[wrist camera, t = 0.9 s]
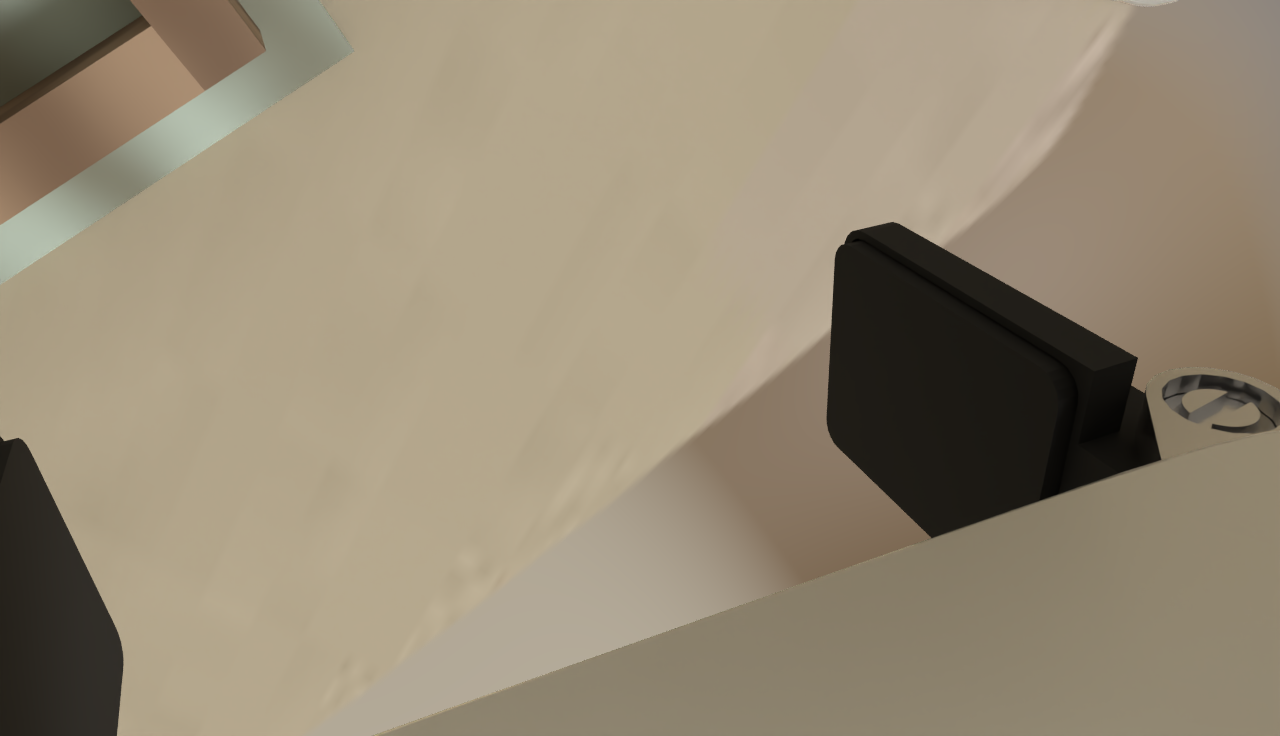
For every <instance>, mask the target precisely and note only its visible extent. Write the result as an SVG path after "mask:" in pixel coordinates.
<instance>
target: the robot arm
mask: <svg viewBox="0 0 1280 736" xmlns="http://www.w3.org/2000/svg"><path fill="white" fill-rule="evenodd" d="M1112 1H1118V2H1122V3H1126V4H1131V5H1135V6H1148V7H1152V6H1159V5H1163V4H1167V3H1173V2H1177V1H1178V0H1112ZM1137 359H1138V358H1137V357H1135V356H1133V355H1132V354H1130V353H1128V352H1126V351H1125V350H1123V349H1121V348H1119V347H1117V346H1116V345H1114V344H1112V343H1110V342H1109V341H1107V340H1105V339H1103V338H1101V337H1099V336H1098V335H1096V334H1094V333H1093V332H1091V331H1089V330H1087V329H1085V328H1084V327H1082V326H1080V325H1078V324H1076V323H1075V322H1073V321H1071V320H1069V319H1067V318H1066V317H1064V316H1062V315H1060V314H1058V313H1056V312H1055V311H1053V310H1052V309H1050V308H1048V307H1046V306H1044V305H1042V304H1041V303H1039V302H1037V301H1035V300H1034V299H1032V298H1030V297H1028V296H1027V295H1025V294H1023V293H1021V292H1019V291H1018V290H1016V289H1014V288H1012V287H1011V286H1009V285H1006V284H1005V283H1003V282H1001V281H1000V280H998V279H996V278H995V277H993V276H991V275H989V274H987V273H986V272H984V271H982V270H980V269H978V268H977V267H975V266H973V265H971V264H969V263H968V262H966V261H964V260H962V259H961V258H959V257H957V256H955V255H953V254H952V253H950V252H948V251H946V250H945V249H943V248H941V247H939V246H937V245H936V244H934V243H932V242H930V241H929V240H927V239H925V238H923V237H921V236H920V235H918V234H916V233H914V232H913V231H911V230H909V229H907V228H905V227H904V226H902V225H900V224H898V223H894V222H891V223H886V224H882V225H877V226H873V227H869V228H864V229H860V230H856V231H852V232H851V233H850V234H849V235H848V236H847V238H846V241H845V244H844V245H841V246H840V247H839V248H838V250H837V252H836V256H835V267H834V286H833V306H832V325H831V344H830V364H829V382H828V402H827V426H828V431H829V433H830V436H831V438H832V440H833V442H834V443H835V444H836V446H837V447H838V448H839V449H840V450H841V451H842V452H843V453H844V454H845V455H846V456H848V458H849V459H851V460H852V461H853V462H854V463H855V464H856V465H857V466H858V467H859V468H860V469H861V470H862V471H863V472H864V473H865V474H866V475H867V476H868V477H869V478H870V479H871V480H872V481H873V482H874V483H876V484H877V485H878V486H879V488H881V489H882V490H883V491H884V492H885V493H886V494H887V495H888V496H889V497H890V498H891V499H892V500H893V501H894V502H895V503H896V504H897V505H898V506H899V507H900V508H901V509H902V510H903V511H904V512H905V513H906V514H907V515H908V516H910V517H911V518H912V519H913V520H914V521H915V522H916V523H917V524H918V525H919V526H920V527H921V528H922V529H923V530H924V531H925V532H926V533H927V534H928V535H929V536H930V537H931V539H928V540H925V541H922V542H919V543H917V544H914V545H911V546H908V547H905V548H902V549H900V550H897V551H894V552H891V553H888V554H885V555H882V556H880V557H877V558H874V559H871V560H868V561H865V562H862V563H860V564H857V565H854V566H851V567H848V568H845V569H843V570H840V571H837V572H834V573H831V574H828V575H825V576H823V577H820V578H817V579H814V580H811V581H808V582H805V583H803V584H800V585H797V586H794V587H791V588H788V589H786V590H783V591H780V592H777V593H774V594H771V595H768V596H766V597H763V598H760V599H757V600H754V601H751V602H748V603H746V604H743V605H740V606H737V607H735V608H731V609H729V610H726V611H723V612H720V613H717V614H715V615H712V616H709V617H706V618H703V619H700V620H698V621H695V622H692V623H689V624H687V625H684V626H681V627H678V628H675V629H672V630H669V631H667V632H664V633H661V634H658V635H656V636H653V637H650V638H647V639H644V640H641V641H638V642H636V643H633V644H630V645H627V646H624V647H622V648H619V649H616V650H613V651H610V652H607V653H604V654H601V655H599V656H596V657H593V658H590V659H587V660H584V661H582V662H579V663H576V664H573V665H570V666H567V667H565V668H562V669H559V670H556V671H553V672H550V673H548V674H545V675H542V676H539V677H536V678H534V679H531V680H528V681H525V682H522V683H519V684H516V685H514V686H511V687H508V688H505V689H502V690H499V691H496V692H494V693H491V694H488V695H485V696H482V697H480V698H477V699H474V700H471V701H469V702H466V703H463V704H460V705H457V706H454V707H452V708H449V709H446V710H443V711H440V712H438V713H435V714H432V715H429V716H427V717H424V718H421V719H418V720H415V721H413V722H410V723H407V724H404V725H401V726H398V727H396V728H393V729H390V730H387V731H385V732H382V733H379V734H376V735H373V736H1280V390H1278V389H1277V388H1275V387H1273V386H1270V385H1268V384H1266V383H1264V382H1262V381H1260V380H1258V379H1255V378H1252V377H1249V376H1245V375H1242V374H1239V373H1235V372H1231V371H1225V370H1219V369H1213V368H1195V367H1187V368H1179V369H1172V370H1168V371H1165V372H1163V373H1160V374H1158V375H1155V376H1154V377H1153V378H1152V380H1150V381H1149V382H1148V383H1147V386H1146V390H1145V393H1143V392H1141V391H1140V390H1138V389H1136V388H1135V387H1133V386H1131V383H1132V379H1133V375H1134V371H1135V367H1136V363H1137ZM122 675H123V651H122V646H121V641H120V638H119V634H118V632H117V629H116V627H115V625H114V623H113V621H112V619H111V617H110V615H109V613H108V611H107V609H106V606H105V604H104V602H103V600H102V598H101V596H100V594H99V592H98V590H97V588H96V586H95V584H94V582H93V580H92V578H91V576H90V573H89V571H88V569H87V567H86V565H85V563H84V561H83V559H82V557H81V555H80V553H79V551H78V549H77V547H76V545H75V543H74V540H73V538H72V536H71V534H70V532H69V530H68V528H67V526H66V524H65V522H64V520H63V518H62V516H61V514H60V512H59V510H58V507H57V505H56V503H55V501H54V499H53V497H52V495H51V493H50V491H49V489H48V487H47V485H46V483H45V481H44V479H43V477H42V474H41V472H40V470H39V468H38V466H37V464H36V462H35V460H34V458H33V456H32V454H31V452H30V450H29V448H28V447H27V445H26V444H25V443H24V441H23V440H21V439H19V438H16V439H12V440H8V441H3V439H2V438H1V437H0V736H117V728H118V717H119V707H120V696H121V685H122Z"/></svg>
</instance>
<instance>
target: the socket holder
mask: <svg viewBox="0 0 1280 736" xmlns="http://www.w3.org/2000/svg"><path fill="white" fill-rule="evenodd" d="M352 52H354V50H353V48H352V47H351V45H350V44H349V42H348V41H347V40H346V38H345V37H344V35H343V34H342V32H341V31H340V30H339V28H338V27H337V25H336V24H335V22H334V21H333V20H332V18H331V17H330V15H329V14H328V12H327V11H326V9H325V8H324V7H323V5H322V4H321V2H320V1H319V0H0V285H1V284H2V283H4V282H5V281H7V280H8V279H10V278H11V277H13V276H14V275H16V274H17V273H19V272H20V271H22V270H23V269H25V268H26V267H28V266H29V265H31V264H32V263H34V262H35V261H37V260H38V259H40V258H41V257H43V256H45V255H46V254H48V253H49V252H51V251H52V250H54V249H55V248H57V247H58V246H60V245H61V244H63V243H64V242H66V241H67V240H69V239H70V238H72V237H73V236H75V235H76V234H78V233H79V232H81V231H82V230H84V229H85V228H87V227H88V226H90V225H92V224H93V223H95V222H96V221H98V220H99V219H101V218H102V217H104V216H105V215H107V214H108V213H110V212H111V211H113V210H114V209H116V208H117V207H119V206H120V205H122V204H123V203H125V202H126V201H128V200H129V199H131V198H132V197H134V196H136V195H137V194H139V193H140V192H142V191H143V190H145V189H146V188H148V187H149V186H151V185H152V184H154V183H155V182H157V181H158V180H160V179H161V178H163V177H164V176H166V175H167V174H169V173H170V172H172V171H173V170H175V169H176V168H178V167H180V166H181V165H183V164H184V163H186V162H187V161H189V160H190V159H192V158H193V157H195V156H196V155H198V154H199V153H201V152H202V151H204V150H205V149H207V148H208V147H210V146H211V145H213V144H214V143H216V142H217V141H219V140H220V139H222V138H223V137H225V136H227V135H228V134H230V133H231V132H233V131H234V130H236V129H237V128H239V127H240V126H242V125H243V124H245V123H246V122H248V121H249V120H251V119H252V118H254V117H255V116H257V115H258V114H260V113H261V112H263V111H264V110H266V109H267V108H269V107H271V106H272V105H274V104H275V103H277V102H278V101H280V100H281V99H283V98H284V97H286V96H287V95H289V94H290V93H292V92H293V91H295V90H296V89H298V88H299V87H301V86H302V85H304V84H305V83H307V82H308V81H310V80H311V79H313V78H315V77H316V76H318V75H319V74H321V73H322V72H324V71H325V70H327V69H328V68H330V67H331V66H333V65H334V64H336V63H337V62H339V61H340V60H342V59H343V58H345V57H346V56H348V55H349V54H351V53H352Z"/></svg>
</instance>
